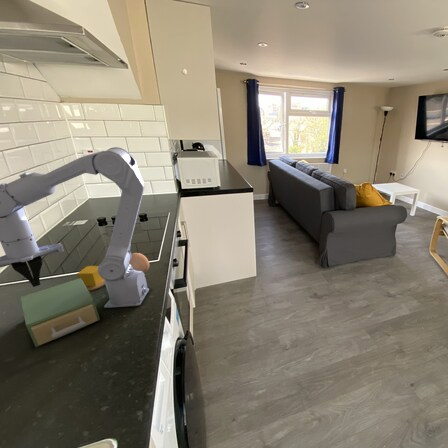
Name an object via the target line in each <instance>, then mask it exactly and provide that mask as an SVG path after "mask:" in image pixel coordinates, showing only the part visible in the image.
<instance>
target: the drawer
mask: <svg viewBox="0 0 448 448" xmlns="http://www.w3.org/2000/svg"><path fill="white" fill-rule="evenodd" d="M95 321H96V322H98V321H97V317H96V314H95V311H94V308H93V305H92V304H90V305H86V306H83V307H80V308H78V309H75V310H73V311H70V312H67V313H65V314H62V315H60V316H57V317H54V318H52V319H49V320H46V321H44V322H41V323H39V324H36V325H35V326H33V327H31V329H32V332H33V334H34V336H35V338H36V341H37V343H38V345H40V346H42V345H45V344H47V343H49V342H52V341H53V340H57V339H60V338H61V337H63V336H66V335H68V334H71V333H73V332H76V331H78V330H80V329H83V328H85V327H87V326H89V325H91V324H94V323H95ZM93 322H94V323H93ZM90 323H91V324H90ZM88 324H89V325H88ZM86 325H87V326H86ZM51 340H52V341H51ZM48 341H49V342H48ZM46 342H47V343H46ZM44 343H45V344H44ZM41 344H42V345H41Z"/></svg>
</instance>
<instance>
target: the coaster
mask: <svg viewBox="0 0 448 448" xmlns="http://www.w3.org/2000/svg"><path fill="white" fill-rule="evenodd" d="M103 287H106V285H105V281H104V279H103V280H102V281H101V282H100V283H99V284H98V285H96V286H86V288H87V290H88V291H89V292H91V291H96V290H99V289H101V288H103Z"/></svg>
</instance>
